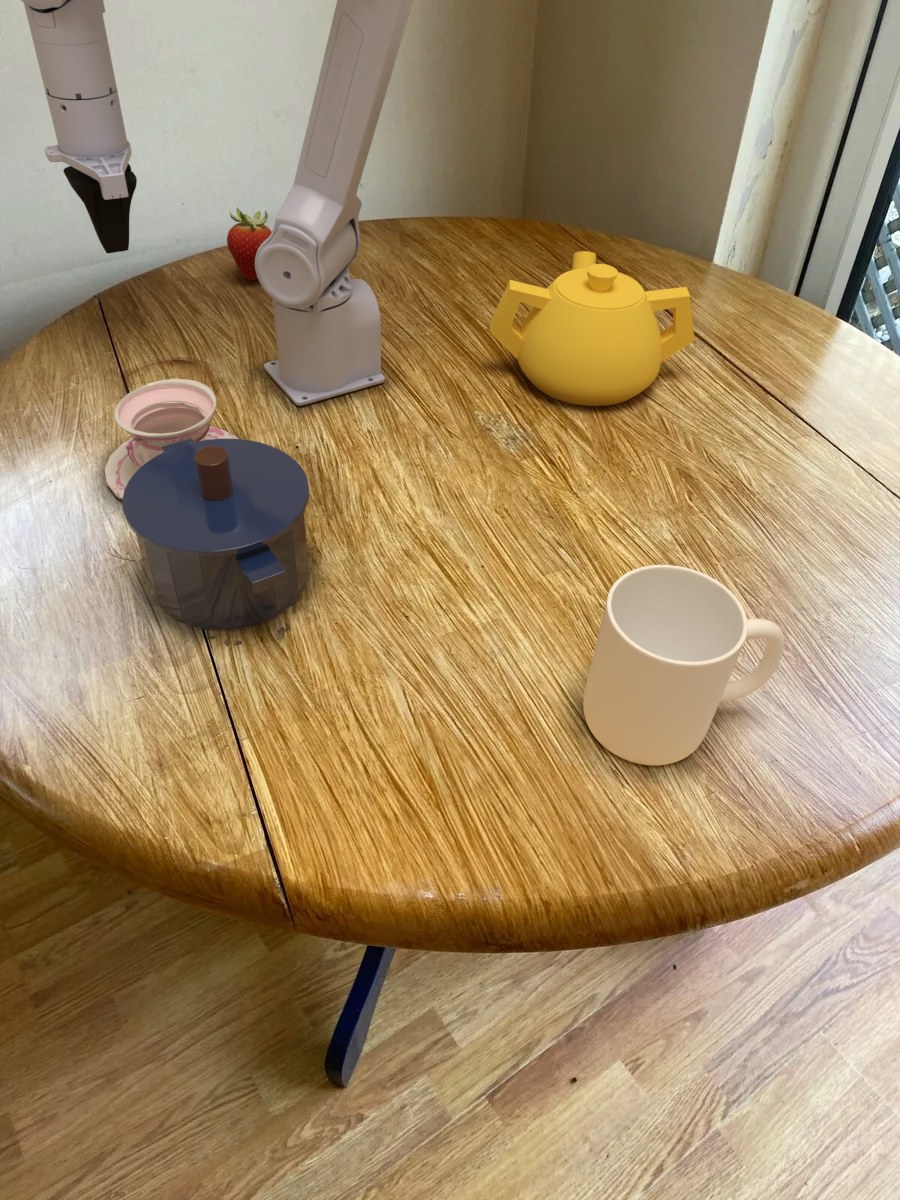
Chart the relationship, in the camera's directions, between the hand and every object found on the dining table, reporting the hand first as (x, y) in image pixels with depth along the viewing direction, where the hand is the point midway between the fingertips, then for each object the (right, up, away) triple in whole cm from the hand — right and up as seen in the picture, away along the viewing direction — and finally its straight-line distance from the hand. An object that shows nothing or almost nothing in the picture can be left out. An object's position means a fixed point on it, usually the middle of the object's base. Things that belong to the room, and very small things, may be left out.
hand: (116, 249), depth 85 cm
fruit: (+9, +3, +17) cm, 20 cm away
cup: (+46, -41, -24) cm, 66 cm away
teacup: (+8, -22, -8) cm, 25 cm away
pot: (+15, -31, -17) cm, 38 cm away
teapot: (+45, -9, +8) cm, 47 cm away
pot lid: (+15, -26, -22) cm, 37 cm away
